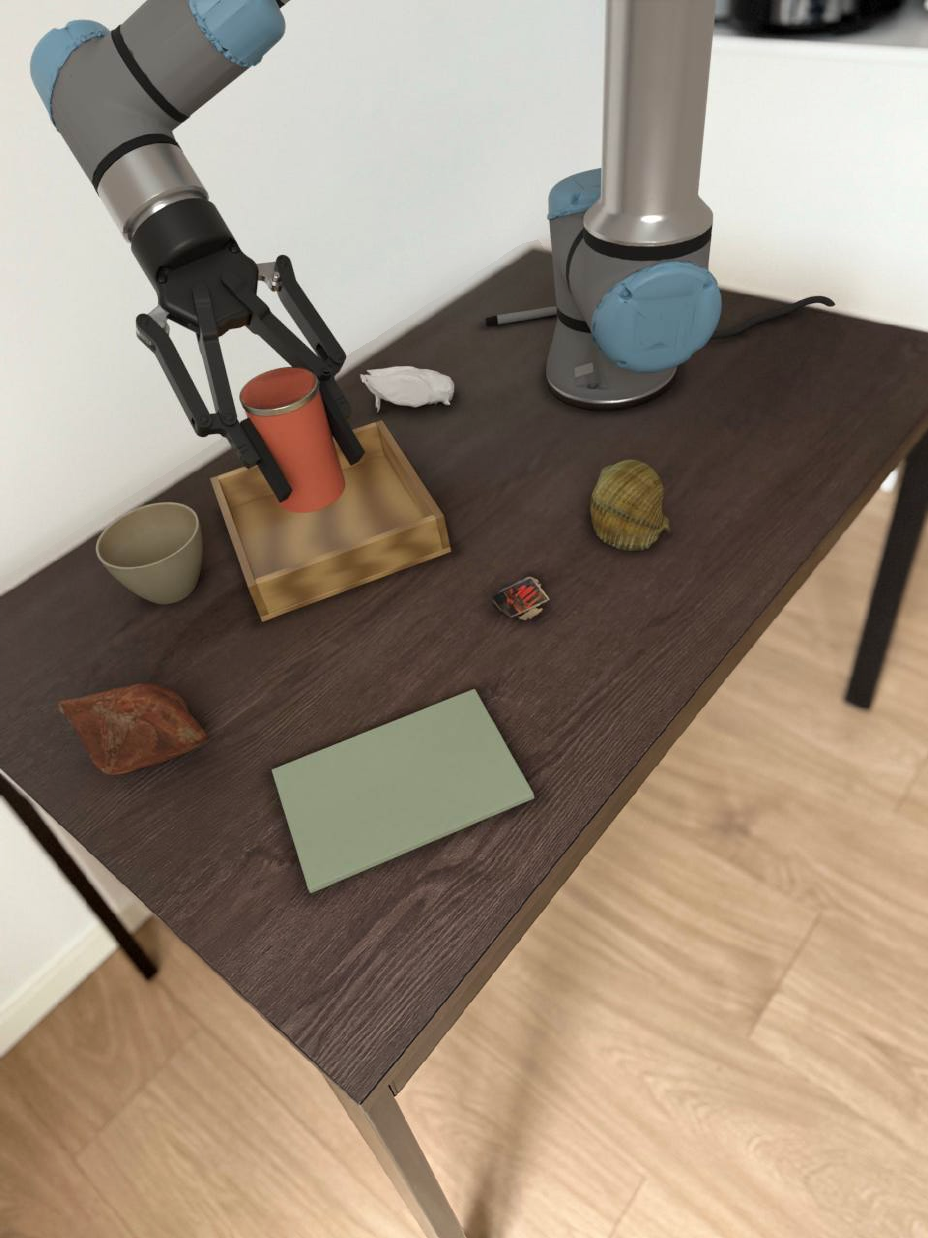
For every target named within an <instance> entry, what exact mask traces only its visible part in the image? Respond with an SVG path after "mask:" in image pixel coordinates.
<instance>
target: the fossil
mask: <svg viewBox="0 0 928 1238" xmlns="http://www.w3.org/2000/svg"><path fill="white" fill-rule="evenodd" d="M57 709H58V711H59V712H60V713H61V714H63V715H64V717H65V718H66V719H67V721H68V722H69V723H70V724H71V725H72V727H73V729H74V731H75V733H76V734H77V736H78V737H79V738H80V740H81V742H82V744H83V746H84V749H85V750H86V753H87V755H88V756H89V758H90V760H91V762H92V763H93V765H94V766H95V767H97V769H99V770H101V772H103V773H104V774H107V775H111V776H115V775H116V776H117V775H125V774H129V773H132V772H134V771H136V770H139V769H143V768H146V767H153V766H155V765H158V764H163V763H164V762H167V761H171V760H172V759H175V758H177V757H180V756H182V755H185V754H187V753H188V752H190V751H193V750H195V749H197V748H199V747H200V746H202V745H203V744H205V743H206V741H207V740H209V738H208V735H207V733H206V731H205V730H204V729H203V728H202V726H201V725H200V723H199V722H198V720H196V718H194V716H193V715H192V714H191V713H190V712H189V709H188V707H187V704H186V701H185V700H184V699H183V698H182V696H180V695H179V694H178V693H176V692H175V691H174V690H173V689H171V688H170V687H167V686H165V685H158V684H155V683H148V682H141V683H136V682H135V683H133V684H130V685H128V686H119V687H115V688H111V689H108V690H105V691H101V692H96V693H92V694H88V695H85V696H81V697H77V698H70V699H61V700H60V701H59V702H58V705H57Z"/></svg>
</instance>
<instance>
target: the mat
mask: <svg viewBox="0 0 928 1238" xmlns="http://www.w3.org/2000/svg"><path fill="white" fill-rule="evenodd" d="M271 774H272V777H273V779H274V783H275V786H276V789H277V792H278V796H279V799H280V802H281V806H282V808H283V812H284V815H285V819H286V821H287V822H286V823H287V824H288V828H289V831H290V835H291V838H292V841H293V844H294V847H295V851H296V853H297V858H298V861H299V864H300V868H301V870H302V873H303V877H304V880H305V884H306V886H307V890H308V892H309V893H310V894H313V893H316V892H317V891H319V890H322V889H324V888H326V887H329V886H331V885H333V884H337V883H338V882H342V881H343V880H346V879H348V878H350V877H352V876H355V875H357V874H359V873H362V872H364V871H366V870H369V869H371V868H373V867H376V866H378V865H381V864H383V863H386V862H388V861H390V860H392V859H394V858H397V857H400V856H402V855H404V854H407V853H409V852H411V851H414V850H416V849H419V848H421V847H423V846H426V845H428V844H430V843H432V842H436V841H437V840H440V839H442V838H444V837H447V836H449V835H452V834H454V833H456V832H458V831H460V830H464V829H465V828H467V827H470V826H472V825H475V824H477V823H479V822H482V821H484V820H486V819H489V818H492V817H494V816H496V815H498V814H500V813H503V812H506V811H508V810H510V809H512V808H515V807H517V806H519V805H522V804H525V803H527V802H529V801H531V800H534V799H535V794H534V792H533V790H532V788H531V787H530V784H529V783H528V782H527V780H526V777H525V776H524V773H523V772H522V771H521V768H520V767H519V765H518V763H517V761H516V759H515V758H514V756H513V755H512V752H511V750H510V749H509V747H508V744H507V743H506V741H505V740H504V738H503V736H502V735H501V733H500V731H499V729H498V728H497V726H496V724H495V722H494V720H493V718H492V717H491V715H490V713H489V711H488V710H487V707H486V706H485V704H484V703H483V701H482V698H481V697H480V695H479V694H478V692H477V690H476V689H475V688H473V689H470V690H468V691H465V692H462V693H459V694H457V695H455V696H453V697H451V698H448V699H445V700H443V701H440V702H437V703H435V704H433V705H430V706H428V707H425V708H422V709H420V710H418V711H415V712H412V713H410V714H407V715H405V716H403V717H400V718H398V719H395V720H392V721H390V722H386V723H385V724H383V725H380V726H378V727H377V726H376V727H375V728H373V729H370V730H367V731H365V732H363V733H360V734H357V735H355V736H352V737H350V738H347V739H345V740H343V741H340V742H337V743H335V744H333V745H330V746H327V747H325V748H322V749H320V750H318V751H314V752H312V753H309V754H307V755H304V756H302V757H300V758H297V759H294V760H292V761H290V762H287V763H284V764H283V765H280V766H277V767H274V768H272V769H271Z"/></svg>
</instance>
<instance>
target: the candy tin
mask: <svg viewBox="0 0 928 1238" xmlns="http://www.w3.org/2000/svg"><path fill="white" fill-rule="evenodd" d="M238 399H239V403H240V405H241V407H242V409H243V410H244V413H245V416H246V418H248V417H249V418H250V420H251V421H252V423H253V425H254V426H255V428H256V430H257V431H258V433H259V435H260V436H261V438H262V440H263V441H264V443H265V445H266V446H267V448H268V450H269V451H270V453H271V455H272V456H273V458H274V460H275V461H276V463H277V465H278V466H279V468H280V470H281V471H282V473H283V475H284V476H285V478H286V480H287V481H288V483H289V485H290V486H291V488H292V492H291V494H290V496H289V498H288V499H287V500H285V501H283V502H281V503H280V502H279V501H278V499H277V497H276V496H275V498H276V500H277V503H278V504H279V505H280V507H282V508H283V509H285V510H287V511H290V512H296V513H306V512H312V511H316V510H320V509H322V508H325V507H327V506H329V505H330V504H332V503H333V502H335V501H336V500H337V499H338V498H339V497H340V496H341V495H342V493H343V492H344V490H345V485H346V483H345V479H344V475H343V472H342V468H341V464H340V461H339V457H338V454H337V450H336V447H335V443H334V440H333V436H332V433H331V429H330V426H329V422H328V419H327V415H326V412H325V408H324V405H323V401H322V398H321V394H320V391H319V382H318V379H317V376H316V375H315V374H314V373H313V372H312V371H310V370H308V369H305V368H301V367H292V366H284V367H278V368H274V369H270V370H267V371H264V372H262V373H260V374H257V375H256V376H254V377H252V378H251V379H249V380H248V381H247V382H246V383H245V384H244V385H243V386H242V388H241V389H240V392H239V395H238ZM274 495H275V494H274Z"/></svg>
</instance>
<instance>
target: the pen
mask: <svg viewBox="0 0 928 1238" xmlns="http://www.w3.org/2000/svg"><path fill="white" fill-rule="evenodd" d="M553 316H557V307H556V305H554V306H547V307H542V308H534V309H529V310H522V311H515V312H509V313H503V314H502V313H501V314H496V315H493V316H489V317H488V316H487V317H485V324H486V326H501V325H506V324H511V323H518V322H522V321H530V320H535V319H541V318H547V317H553Z"/></svg>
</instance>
